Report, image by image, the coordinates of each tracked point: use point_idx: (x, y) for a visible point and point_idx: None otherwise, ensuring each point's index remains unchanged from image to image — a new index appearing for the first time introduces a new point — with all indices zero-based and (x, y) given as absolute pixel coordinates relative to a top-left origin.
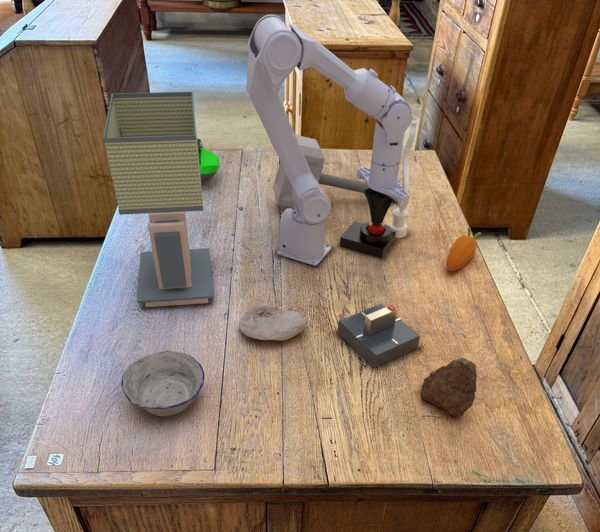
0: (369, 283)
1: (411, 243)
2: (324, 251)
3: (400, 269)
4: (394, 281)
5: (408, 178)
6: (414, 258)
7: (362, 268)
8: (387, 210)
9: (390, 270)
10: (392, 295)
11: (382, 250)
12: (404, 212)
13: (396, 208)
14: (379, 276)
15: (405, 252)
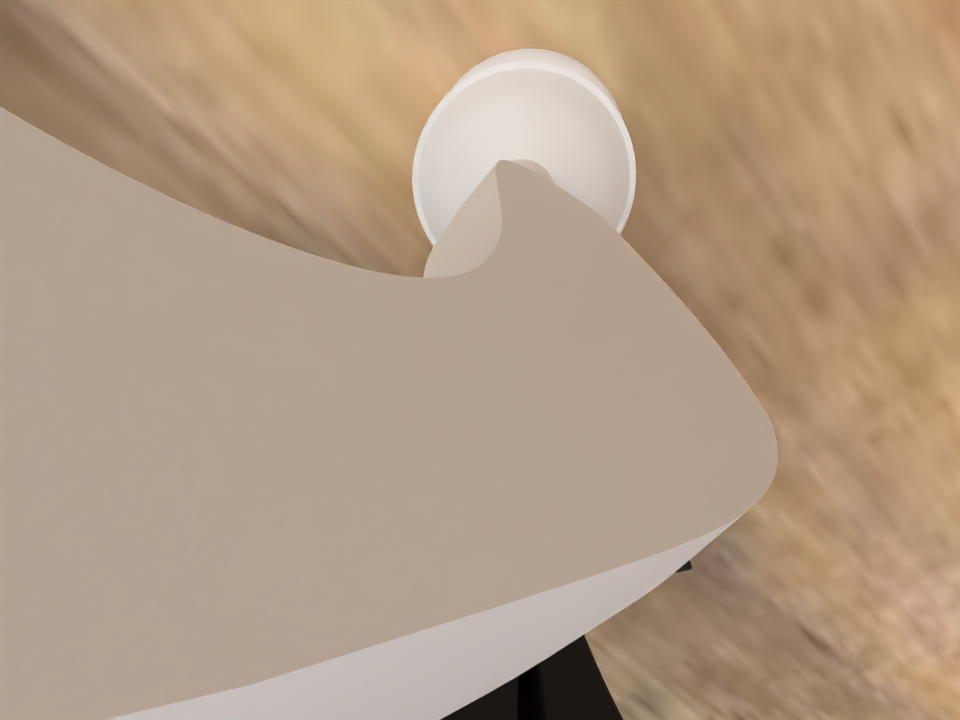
0: (768, 710)
1: (739, 187)
2: None
3: (857, 524)
4: (887, 629)
5: (618, 589)
6: (883, 354)
7: (648, 648)
8: (610, 698)
9: (803, 570)
10: (942, 714)
11: (686, 565)
12: (601, 205)
13: (441, 201)
14: (779, 645)
15: (773, 341)
